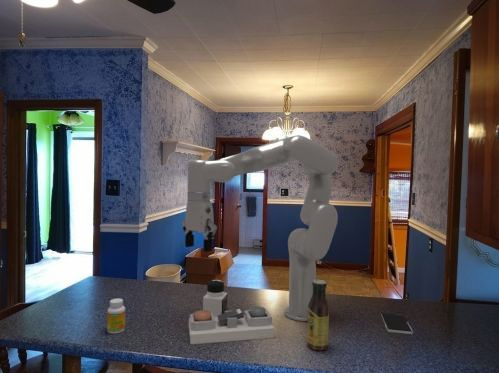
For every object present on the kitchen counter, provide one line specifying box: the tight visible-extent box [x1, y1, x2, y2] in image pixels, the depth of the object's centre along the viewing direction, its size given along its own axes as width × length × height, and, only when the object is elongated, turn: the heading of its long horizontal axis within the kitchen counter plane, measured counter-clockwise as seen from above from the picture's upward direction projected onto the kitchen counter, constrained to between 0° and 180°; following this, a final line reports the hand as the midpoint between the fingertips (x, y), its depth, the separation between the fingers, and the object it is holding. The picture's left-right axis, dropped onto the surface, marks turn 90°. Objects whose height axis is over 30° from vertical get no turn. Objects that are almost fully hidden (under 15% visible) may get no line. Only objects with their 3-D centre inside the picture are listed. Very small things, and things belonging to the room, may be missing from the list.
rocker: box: [217, 307, 244, 325], centre depth 115 cm, size 8×4×2 cm, turn 102°
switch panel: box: [188, 308, 276, 345], centre depth 115 cm, size 26×12×6 cm, turn 102°
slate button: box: [249, 305, 266, 318], centre depth 117 cm, size 5×5×2 cm
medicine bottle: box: [202, 279, 228, 317], centre depth 130 cm, size 7×7×12 cm
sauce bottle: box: [306, 279, 330, 351], centre depth 106 cm, size 7×6×20 cm
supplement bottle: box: [106, 298, 126, 335], centre depth 115 cm, size 5×5×10 cm
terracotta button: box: [194, 309, 211, 322], centre depth 113 cm, size 5×5×2 cm
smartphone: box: [380, 312, 414, 335], centre depth 124 cm, size 8×1×15 cm
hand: (198, 248), depth 118 cm, fingers open, 9 cm apart
